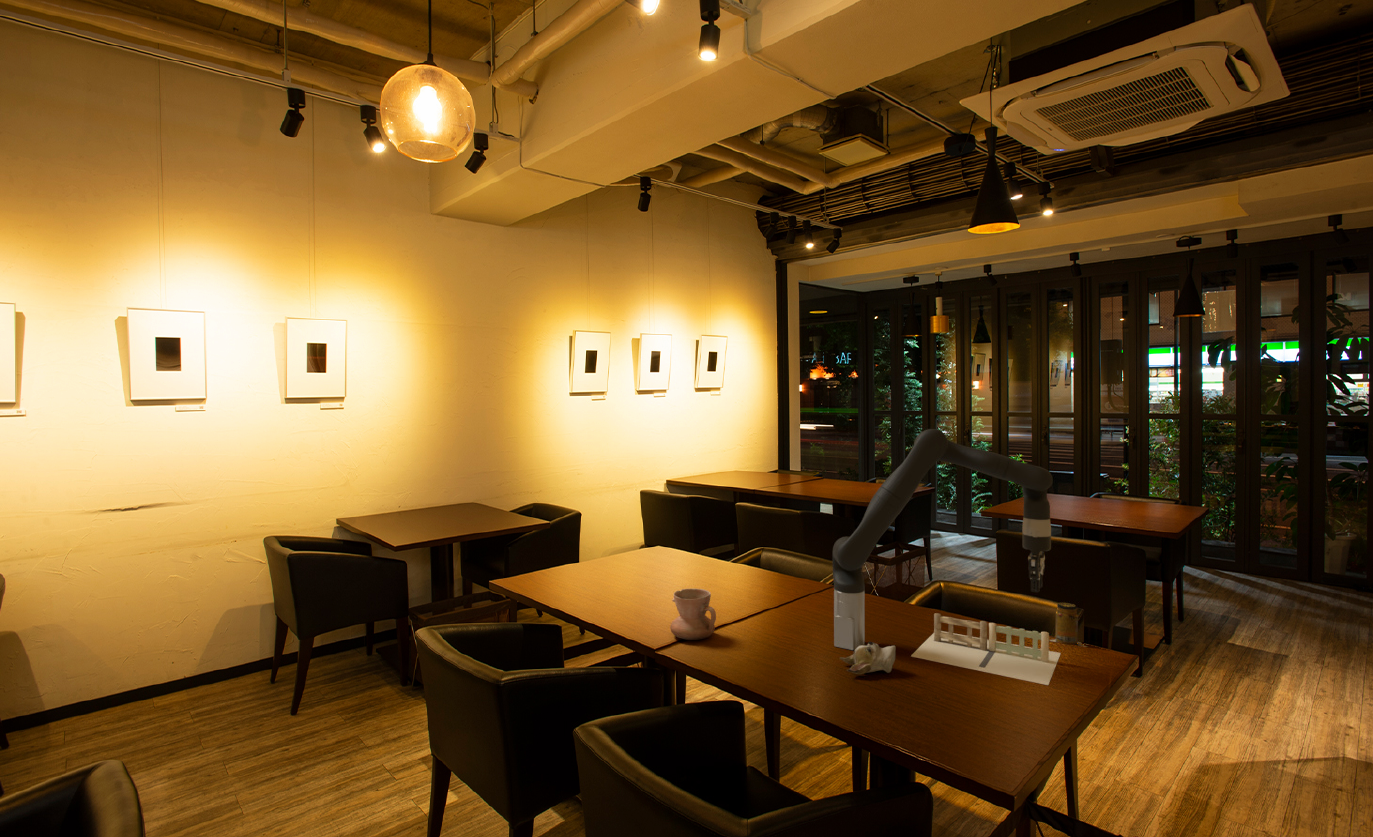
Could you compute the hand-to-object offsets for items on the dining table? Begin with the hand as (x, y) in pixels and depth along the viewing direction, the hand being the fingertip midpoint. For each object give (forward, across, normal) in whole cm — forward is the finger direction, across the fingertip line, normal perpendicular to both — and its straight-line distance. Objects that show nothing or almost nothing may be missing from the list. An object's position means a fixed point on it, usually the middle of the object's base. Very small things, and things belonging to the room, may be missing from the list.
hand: (1036, 589), depth 198 cm
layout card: (+19, +10, -12) cm, 25 cm away
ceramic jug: (+20, +46, -93) cm, 106 cm away
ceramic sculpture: (+20, +41, -36) cm, 58 cm away
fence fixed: (+19, +6, -20) cm, 28 cm away
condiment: (+20, -16, +7) cm, 26 cm away
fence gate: (+19, +6, -4) cm, 20 cm away
